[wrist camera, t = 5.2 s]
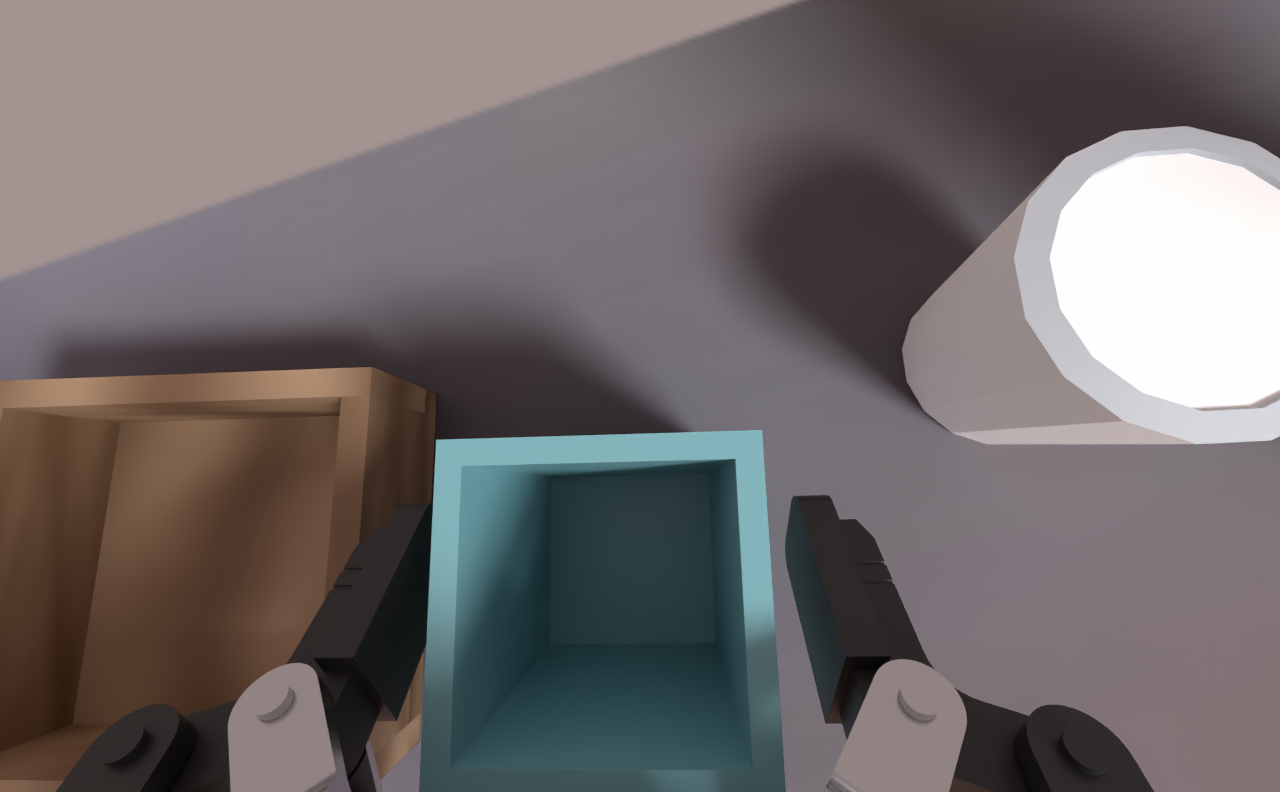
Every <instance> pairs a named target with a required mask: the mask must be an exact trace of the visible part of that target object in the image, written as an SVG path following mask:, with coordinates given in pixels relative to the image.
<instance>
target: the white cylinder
mask: <svg viewBox="0 0 1280 792" xmlns="http://www.w3.org/2000/svg"><path fill="white" fill-rule="evenodd" d="M902 354H903V361H904V368H905V374H906V381H907V383H908V385H909V386H910V388H911V390H912V391H913V393H914V395H915V396H916V398H917V400H918V402H919V403H920V405H921V407H922V408H923V410H924V411H925V412H926V413H927V414H929V415H930V416H931V417H932V418H934V419H935V420H936V421H938V422H939V423H940V424H941V425H943V426H944V427H945V428H946V429H948V430H949V431H950V432H951V433H954V434H957V435H960V436H963V437H966V438H969V439H972V440H975V441H978V442H981V443H984V444H1208V443H1228V442H1248V441H1268V440H1273V439H1275V438H1277V437H1279V436H1280V158H1278V157H1277V156H1275V155H1273V154H1272V153H1270V152H1268V151H1267V150H1265V149H1263V148H1262V147H1260V146H1259V145H1257V144H1255V143H1253V142H1249V141H1245V140H1241V139H1237V138H1233V137H1229V136H1225V135H1221V134H1217V133H1213V132H1209V131H1205V130H1200V129H1196V128H1192V127H1188V126H1181V127H1168V128H1156V129H1143V130H1131V131H1121V132H1118V133H1116V134H1114V135H1112V136H1110V137H1108V138H1106V139H1104V140H1102V141H1099V142H1097V143H1095V144H1093V145H1091V146H1089V147H1087V148H1085V149H1083V150H1080V151H1078V152H1076V153H1074V154H1072V155H1070V156H1068V157H1066V158H1065V159H1064V160H1063V161H1062V162H1061V163H1060V164H1059V165H1058V166H1057V167H1056V168H1055V169H1054V170H1053V171H1052V172H1051V173H1050V174H1049V175H1048V176H1047V177H1046V178H1045V179H1044V180H1043V181H1042V182H1041V183H1040V184H1039V186H1038V187H1037V188H1036V189H1035V190H1034V191H1033V192H1032V193H1031V194H1030V195H1029V196H1028V197H1027V198H1026V199H1025V200H1024V201H1023V202H1022V203H1021V204H1020V205H1019V206H1018V207H1017V208H1016V209H1015V210H1014V211H1013V212H1012V213H1011V214H1010V215H1009V216H1008V217H1007V218H1006V219H1005V220H1004V221H1003V223H1002V224H1001V225H1000V226H999V227H998V228H997V229H996V230H995V231H994V232H993V233H992V234H991V235H990V236H989V237H988V238H987V239H986V240H985V241H984V242H983V243H982V244H981V245H980V246H979V247H978V248H977V249H976V250H975V251H974V252H973V253H972V254H971V255H970V256H969V257H968V258H967V260H966V261H965V262H964V263H963V264H962V265H961V266H960V267H959V268H958V269H957V270H956V271H955V272H954V273H953V274H952V275H951V276H950V277H949V278H948V279H947V280H946V281H945V282H944V283H943V284H942V285H941V286H940V287H939V288H938V289H937V290H936V291H935V292H934V293H933V294H932V295H931V297H930V298H929V299H928V300H927V301H926V302H925V303H924V305H923V306H922V307H921V308H920V309H919V310H918V312H917V313H916V314H915V315H914V316H913V317H912V318H911V320H910V323H909V326H908V330H907V333H906V337H905V340H904V344H903V347H902Z"/></svg>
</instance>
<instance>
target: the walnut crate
mask: <svg viewBox="0 0 1280 792" xmlns="http://www.w3.org/2000/svg"><path fill="white" fill-rule="evenodd" d="M436 396H437V394H436V393H433V392H431V391H429V390H426V389H424V388H421V387H419V386H417V385H414V384H412V383H409V382H407V381H405V380H402V379H400V378H397V377H395V376H393V375H390V374H388V373H385V372H383V371H381V370H378V369H376V368H373V367H356V368H329V369H302V370H276V371H249V372H223V373H196V374H170V375H143V376H117V377H90V378H64V379H37V380H11V381H0V792H56V790H57V789H58V788H59V786H60V785H61V784H62V782H63V781H64V780H65V778H66V777H67V776H68V774H69V773H70V772H71V770H72V769H73V768H74V766H75V765H76V764H77V762H78V761H79V760H80V758H81V757H82V756H83V754H84V753H85V752H86V750H87V749H88V748H89V747H90V745H91V744H92V743H93V742H94V741H95V740H96V739H97V738H98V737H99V736H100V735H101V734H102V733H103V732H104V731H105V730H106V729H108V728H109V727H110V726H111V725H113V724H114V723H115V722H117V721H118V720H120V719H121V718H123V717H124V716H126V715H128V714H130V713H131V712H133V711H135V710H138V709H140V708H142V707H146V706H149V705H154V704H167V705H170V706H172V707H173V708H175V709H176V710H177V711H178V712H179V713H181V714H182V715H183V716H187V715H190V714H193V713H196V712H199V711H202V710H206V709H209V708H212V707H215V706H218V705H221V704H224V703H227V702H231V701H234V700H236V699H239V698H240V696H241V695H242V694H243V693H244V692H245V690H246V689H247V688H248V687H249V686H250V685H251V684H253V683H254V682H255V681H256V680H257V679H259V678H260V677H261V676H263V675H264V674H266V673H267V672H269V671H271V670H273V669H275V668H277V667H280V666H283V665H285V664H286V663H287V662H288V660H289V659H290V657H291V656H292V654H293V653H294V651H295V649H296V648H297V646H298V644H299V642H300V641H301V639H302V637H303V636H304V634H305V632H306V631H307V629H308V627H309V625H310V624H311V622H312V620H313V619H314V617H315V615H316V614H317V612H318V610H319V609H320V607H321V605H322V603H323V602H324V600H325V598H326V597H327V595H328V593H329V592H330V590H333V585H334V583H335V581H336V580H337V578H338V576H339V575H340V573H341V572H343V571H344V566H345V564H346V563H347V561H348V559H349V558H350V556H351V554H352V552H353V551H354V549H355V547H356V546H357V545H358V544H359V543H360V542H361V541H362V540H364V539H365V538H366V537H367V536H368V535H369V534H370V533H371V532H372V531H373V530H374V529H375V528H385V527H386V525H387V523H388V521H389V519H390V518H391V516H392V514H393V512H394V510H395V509H396V508H397V507H398V506H399V505H400V504H418V503H431V498H432V477H433V457H434V437H435V416H436ZM423 661H424V651H423V654H422V656H421V659H420V662H419V664H418V667H417V669H416V672H415V675H414V677H413V680H412V683H411V685H410V688H409V691H408V693H407V696H406V698H405V701H404V704H403V706H402V709H401V712H400V714H399V717H398V720H397V721H376V722H375V725H374V727H373V730H372V732H371V735H370V737H369V741H370V743H371V746H372V750H373V754H374V757H375V761H376V765H377V769H378V773H379V777H380V780H381V779H382V778H383V777H384V776H385V775H386V774H387V773H388V772H389V771H390V770H391V769H392V768H393V767H394V766H395V765H396V764H397V763H398V762H399V761H400V760H401V759H402V758H403V757H404V756H405V755H406V754H407V753H408V752H409V751H410V750H411V749H412V748H413V747H414V746H415V745H416V744H417V743H418V742H419V741H420V722H421V702H422V681H423Z"/></svg>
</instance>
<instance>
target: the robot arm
mask: <svg viewBox="0 0 1280 792" xmlns="http://www.w3.org/2000/svg"><path fill="white" fill-rule="evenodd" d="M432 516H433V503H418V504H400V505H399V506H398V507H397V508H396V509H395V510H394V512H393V514H392V516H391V518H390V519H389V521H388V523H387V525H386V527H385V528H375V529H374V530H373V531H372V532H371V533H370V534H369V535H368V536H367V537H366V538H365V539H364V540H362V541H361V542H360V543H359V544H358V545H357V546H356V547H355V549H354V551H353V552H352V554H351V556H350V558H349V559H348V561H347V563H346V564H345V566H344V571H343V572H341V573H340V575H339V576H338V578H337V580H336V581H335V583H334V585H333V590H330V592H329V593H328V595H327V597H326V598H325V600H324V602H323V603H322V605H321V607H320V609H319V610H318V612H317V614H316V615H315V617H314V619H313V620H312V622H311V624H310V625H309V627H308V629H307V631H306V632H305V634H304V636H303V637H302V639H301V641H300V642H299V644H298V646H297V648H296V649H295V651H294V653H293V654H292V656H291V657H290V659H289V660H288V662H287V663H286V664H285V665H283V666H280V667H277V668H275V669H273V670H271V671H269V672H267V673H266V674H264V675H263V676H261V677H260V678H259V679H257V680H256V681H255V682H254V683H253V684H251V685H250V686H249V687H248V688H247V689H246V690H245V692H244V693H243V694H242V695H241V696H240V698H239V699H236V700H234V701H231V702H227V703H224V704H221V705H218V706H215V707H212V708H209V709H206V710H202V711H199V712H196V713H193V714H190V715H187V716H183V715H182V714H181V713H179V712H178V711H177V710H176V709H175V708H173V707H172V706H170V705H167V704H154V705H149V706H146V707H142V708H140V709H138V710H135V711H133V712H131V713H130V714H128V715H126V716H124V717H123V718H121V719H120V720H118V721H117V722H115V723H114V724H113V725H111V726H110V727H109V728H108V729H106V730H105V731H104V732H103V733H102V734H101V735H100V736H99V737H98V738H97V739H96V740H95V741H94V742H93V743H92V744H91V745H90V747H89V748H88V749H87V750H86V752H85V753H84V754H83V756H82V757H81V758H80V760H79V761H78V762H77V764H76V765H75V766H74V768H73V769H72V770H71V772H70V773H69V774H68V776H67V777H66V778H65V780H64V781H63V782H62V784H61V785H60V786H59V788H58V789H57V790H56V792H383V789H382V785H381V781H380V777H379V773H378V769H377V765H376V761H375V757H374V754H373V750H372V746H371V743H370V741H369V737H370V735H371V732H372V730H373V727H374V725H375V722H376V721H397V720H398V717H399V714H400V712H401V709H402V706H403V704H404V701H405V698H406V696H407V693H408V691H409V688H410V685H411V683H412V680H413V677H414V675H415V672H416V669H417V667H418V664H419V662H420V659H421V656H422V654H423V651H424V648H425V646H426V640H427V619H428V598H429V578H430V557H431V536H432ZM785 553H786V563H787V569H788V573H789V577H790V581H791V585H792V589H793V593H794V597H795V601H796V606H797V610H798V614H799V618H800V622H801V626H802V630H803V634H804V638H805V642H806V646H807V650H808V654H809V658H810V662H811V666H812V670H813V674H814V679H815V683H816V687H817V691H818V695H819V699H820V703H821V707H822V711H823V715H824V719H825V723H842V724H843V728H844V731H845V735H846V739H847V742H846V744H845V746H844V749H843V751H842V753H841V756H840V758H839V760H838V763H837V765H836V767H835V770H834V772H833V774H832V776H831V779H830V781H829V783H828V784H827V786H826V789H825V791H824V792H1154V791H1153V789H1152V788H1151V786H1150V784H1149V783H1148V781H1147V779H1146V778H1145V776H1144V774H1143V773H1142V771H1141V769H1140V768H1139V766H1138V764H1137V763H1136V761H1135V760H1134V758H1133V756H1132V755H1131V753H1130V752H1129V750H1128V749H1127V748H1126V746H1125V745H1124V744H1123V743H1122V742H1121V741H1120V739H1119V738H1118V737H1117V736H1115V735H1114V734H1113V733H1112V732H1111V731H1110V730H1109V729H1108V728H1107V727H1105V726H1104V725H1103V724H1101V723H1100V722H1098V721H1097V720H1095V719H1094V718H1092V717H1091V716H1089V715H1087V714H1085V713H1083V712H1081V711H1078V710H1076V709H1074V708H1070V707H1066V706H1062V705H1046V706H1041V707H1039V708H1037V709H1036V710H1035V711H1033V712H1032V713H1031V715H1030V716H1027V715H1024V714H1021V713H1018V712H1015V711H1011V710H1008V709H1005V708H1002V707H998V706H995V705H992V704H989V703H986V702H982V701H980V700H977V699H974V698H972V697H970V696H968V695H966V694H964V693H962V692H960V691H959V690H957V689H956V688H954V687H953V686H952V684H951V683H950V682H949V681H948V680H947V679H946V678H945V677H944V676H942V675H941V674H940V673H939V672H937V671H936V670H935V669H934V668H933V667H932V665H931V664H930V662H929V661H928V659H927V657H926V655H925V653H924V651H923V649H922V647H921V645H920V642H919V640H918V638H917V635H916V633H915V631H914V628H913V626H912V624H911V621H910V619H909V617H908V615H907V612H906V610H905V608H904V605H903V603H902V601H901V598H900V596H899V594H898V592H897V589H896V587H895V585H894V584H893V583H892V578H891V575H890V573H889V571H888V569H887V566H886V565H884V559H883V557H882V555H881V552H880V550H879V548H878V546H877V543H876V541H875V539H874V537H873V536H872V535H871V534H870V533H869V532H868V531H867V530H866V529H865V528H864V527H863V526H862V525H861V524H860V523H859V522H858V521H857V520H856V519H848V520H839V517H838V515H837V512H836V509H835V507H834V504H833V502H832V499H831V498H830V496H828V495H815V496H793V498H792V501H791V508H790V515H789V521H788V528H787V535H786V542H785Z"/></svg>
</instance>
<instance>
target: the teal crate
mask: <svg viewBox="0 0 1280 792" xmlns="http://www.w3.org/2000/svg"><path fill="white" fill-rule="evenodd" d="M419 792H786V789H785V774H784V758H783V743H782V728H781V713H780V697H779V682H778V667H777V652H776V636H775V621H774V606H773V591H772V575H771V560H770V545H769V530H768V515H767V499H766V484H765V469H764V454H763V438H762V430H750V431H716V432H682V433H648V434H614V435H580V436H546V437H512V438H478V439H444V440H436V454H435V474H434V495H433V516H432V536H431V557H430V578H429V598H428V619H427V640H426V660H425V681H424V702H423V722H422V743H421V764H420V784H419Z"/></svg>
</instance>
